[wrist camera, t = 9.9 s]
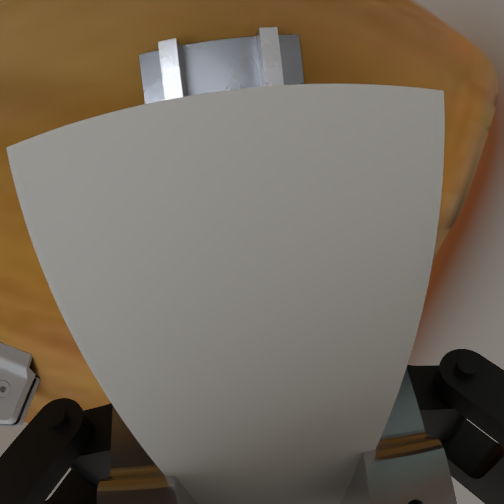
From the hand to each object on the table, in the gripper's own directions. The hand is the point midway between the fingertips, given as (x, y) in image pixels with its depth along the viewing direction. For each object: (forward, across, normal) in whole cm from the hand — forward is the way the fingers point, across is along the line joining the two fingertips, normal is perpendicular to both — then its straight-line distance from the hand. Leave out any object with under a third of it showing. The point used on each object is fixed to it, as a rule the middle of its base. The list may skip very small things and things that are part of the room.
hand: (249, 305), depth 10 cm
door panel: (+2, 0, 0) cm, 2 cm away
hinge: (+14, +34, +15) cm, 39 cm away
